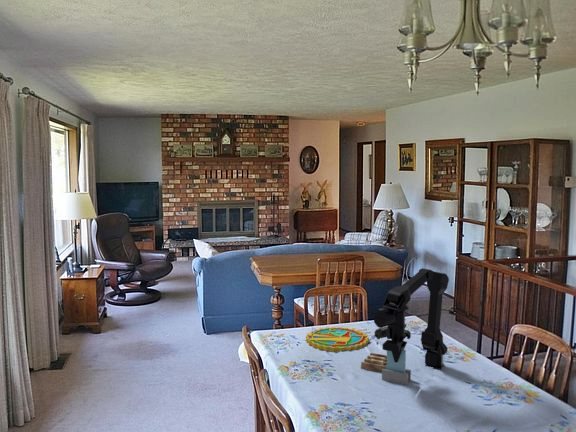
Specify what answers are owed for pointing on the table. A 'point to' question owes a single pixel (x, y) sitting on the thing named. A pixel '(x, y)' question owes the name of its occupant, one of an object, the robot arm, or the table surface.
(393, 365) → the tall sheet
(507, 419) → the table surface
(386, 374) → the holder
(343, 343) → the decorative plaque
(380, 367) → the rack
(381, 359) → the offcut front
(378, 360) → the offcut small
